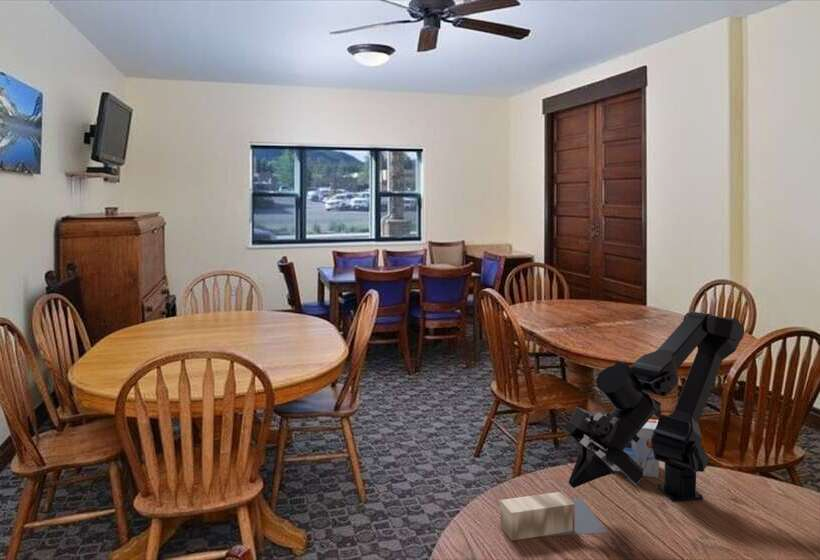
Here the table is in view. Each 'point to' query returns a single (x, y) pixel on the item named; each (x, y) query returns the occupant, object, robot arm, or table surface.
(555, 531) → the beech block
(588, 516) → the slate mat
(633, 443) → the light bulb box
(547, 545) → the table surface
